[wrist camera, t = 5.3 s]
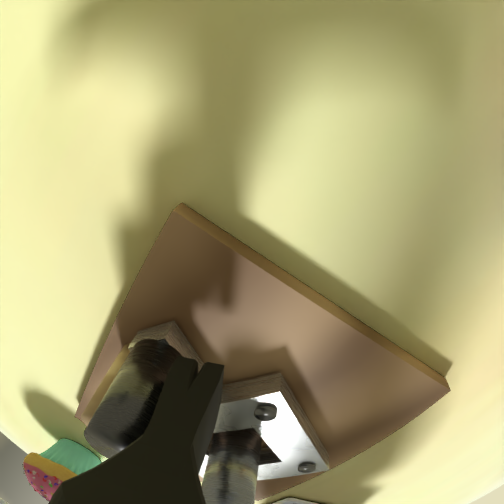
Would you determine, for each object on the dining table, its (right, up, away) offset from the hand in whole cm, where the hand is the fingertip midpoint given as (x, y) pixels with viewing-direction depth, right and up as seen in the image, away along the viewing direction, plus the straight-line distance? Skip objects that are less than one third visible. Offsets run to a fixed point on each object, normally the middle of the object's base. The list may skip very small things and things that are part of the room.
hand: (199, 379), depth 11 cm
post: (+1, -5, +6) cm, 8 cm away
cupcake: (-15, -15, +12) cm, 25 cm away
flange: (0, -4, +4) cm, 5 cm away
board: (+1, -5, +6) cm, 7 cm away
